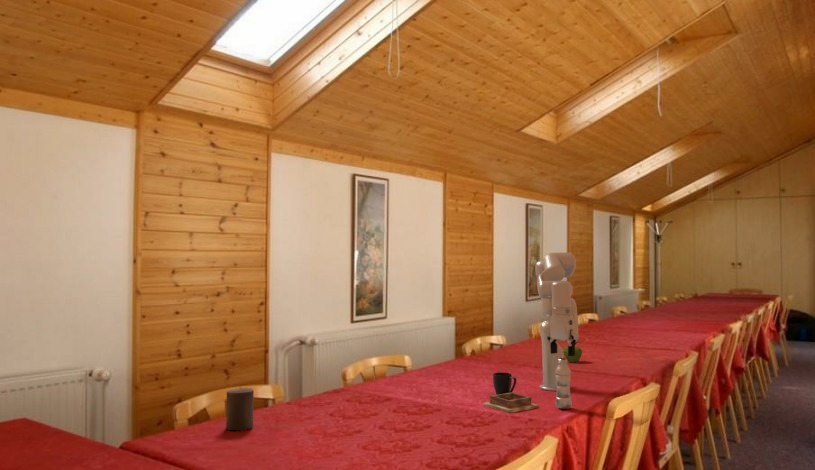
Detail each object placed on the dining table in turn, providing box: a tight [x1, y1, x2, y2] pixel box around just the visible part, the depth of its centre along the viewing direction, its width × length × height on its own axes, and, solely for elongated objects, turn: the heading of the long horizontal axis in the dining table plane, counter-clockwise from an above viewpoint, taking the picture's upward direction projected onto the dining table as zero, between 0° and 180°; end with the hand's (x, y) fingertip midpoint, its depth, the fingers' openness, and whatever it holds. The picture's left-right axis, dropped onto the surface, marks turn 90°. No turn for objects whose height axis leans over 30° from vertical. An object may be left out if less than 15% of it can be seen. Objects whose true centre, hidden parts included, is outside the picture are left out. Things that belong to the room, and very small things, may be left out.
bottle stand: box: [482, 392, 540, 414], centre depth 255 cm, size 16×16×4 cm
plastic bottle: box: [555, 357, 573, 410], centre depth 251 cm, size 6×7×20 cm
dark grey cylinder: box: [225, 387, 255, 432], centre depth 228 cm, size 10×10×15 cm
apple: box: [562, 345, 583, 363], centre depth 362 cm, size 11×10×10 cm
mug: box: [492, 371, 518, 395], centre depth 275 cm, size 8×12×10 cm
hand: (562, 354), depth 251 cm, fingers open, 9 cm apart
